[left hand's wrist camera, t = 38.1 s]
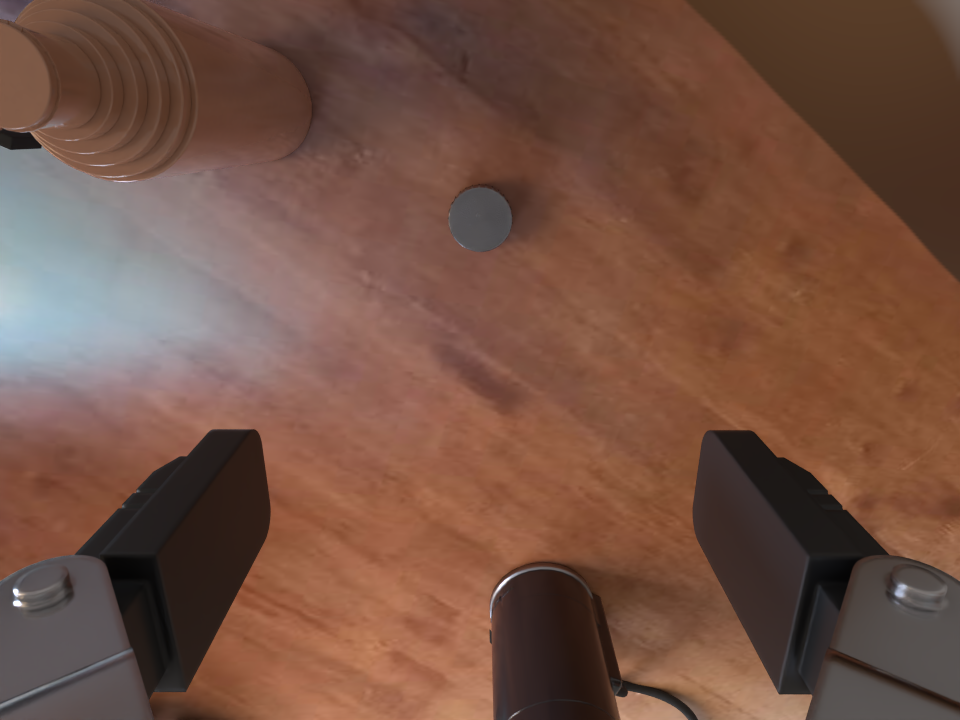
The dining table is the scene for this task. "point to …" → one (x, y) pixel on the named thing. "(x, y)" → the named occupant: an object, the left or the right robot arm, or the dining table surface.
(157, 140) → the bottle
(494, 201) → the cap
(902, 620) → the left robot arm
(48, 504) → the dining table surface
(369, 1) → the dining table surface
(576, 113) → the dining table surface
